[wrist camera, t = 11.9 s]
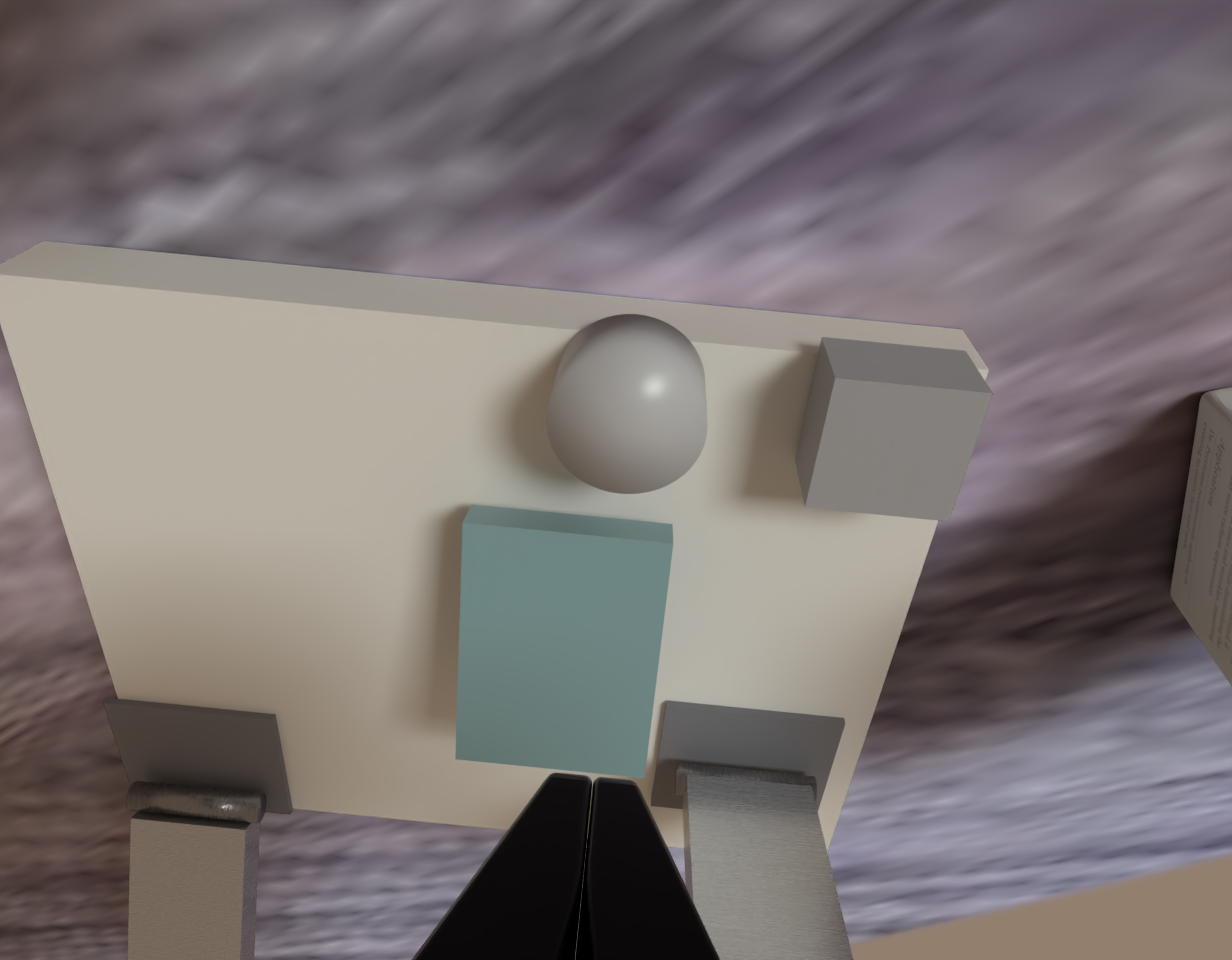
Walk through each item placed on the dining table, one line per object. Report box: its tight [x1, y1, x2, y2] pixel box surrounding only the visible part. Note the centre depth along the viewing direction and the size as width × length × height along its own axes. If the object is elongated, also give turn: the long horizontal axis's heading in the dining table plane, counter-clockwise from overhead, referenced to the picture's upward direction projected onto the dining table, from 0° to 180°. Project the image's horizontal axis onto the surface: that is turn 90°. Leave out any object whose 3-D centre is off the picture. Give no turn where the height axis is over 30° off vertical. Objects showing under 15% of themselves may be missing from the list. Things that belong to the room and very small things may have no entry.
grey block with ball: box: [126, 781, 267, 960], centre depth 26 cm, size 2×4×9 cm
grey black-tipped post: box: [675, 763, 853, 960], centre depth 20 cm, size 2×4×9 cm, turn 86°
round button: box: [546, 314, 708, 494], centre depth 18 cm, size 3×3×2 cm
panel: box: [0, 241, 989, 851], centre depth 23 cm, size 16×20×3 cm
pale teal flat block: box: [455, 505, 673, 778], centre depth 20 cm, size 6×4×1 cm
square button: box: [795, 337, 993, 522], centre depth 18 cm, size 3×3×2 cm
